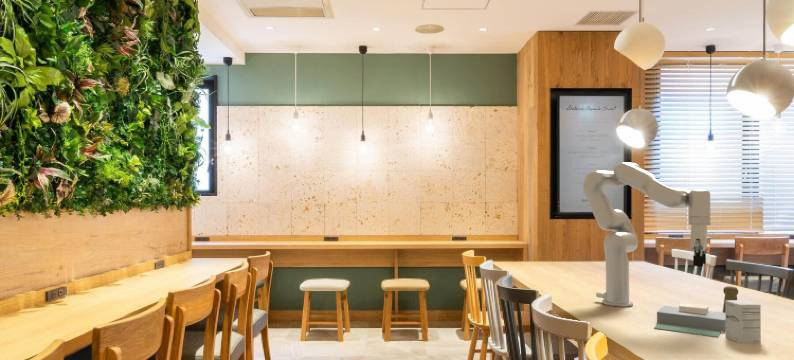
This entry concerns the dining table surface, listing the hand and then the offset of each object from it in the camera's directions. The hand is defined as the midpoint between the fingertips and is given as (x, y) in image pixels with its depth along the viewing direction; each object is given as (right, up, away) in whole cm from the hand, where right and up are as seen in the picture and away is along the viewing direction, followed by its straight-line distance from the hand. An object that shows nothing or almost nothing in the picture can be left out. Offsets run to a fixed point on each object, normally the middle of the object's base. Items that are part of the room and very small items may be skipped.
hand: (699, 264), depth 213 cm
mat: (-15, -20, -20) cm, 32 cm away
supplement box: (-4, -20, -33) cm, 39 cm away
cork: (+17, -21, +7) cm, 28 cm away
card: (-6, -17, -7) cm, 19 cm away
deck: (-8, -20, -9) cm, 24 cm away
